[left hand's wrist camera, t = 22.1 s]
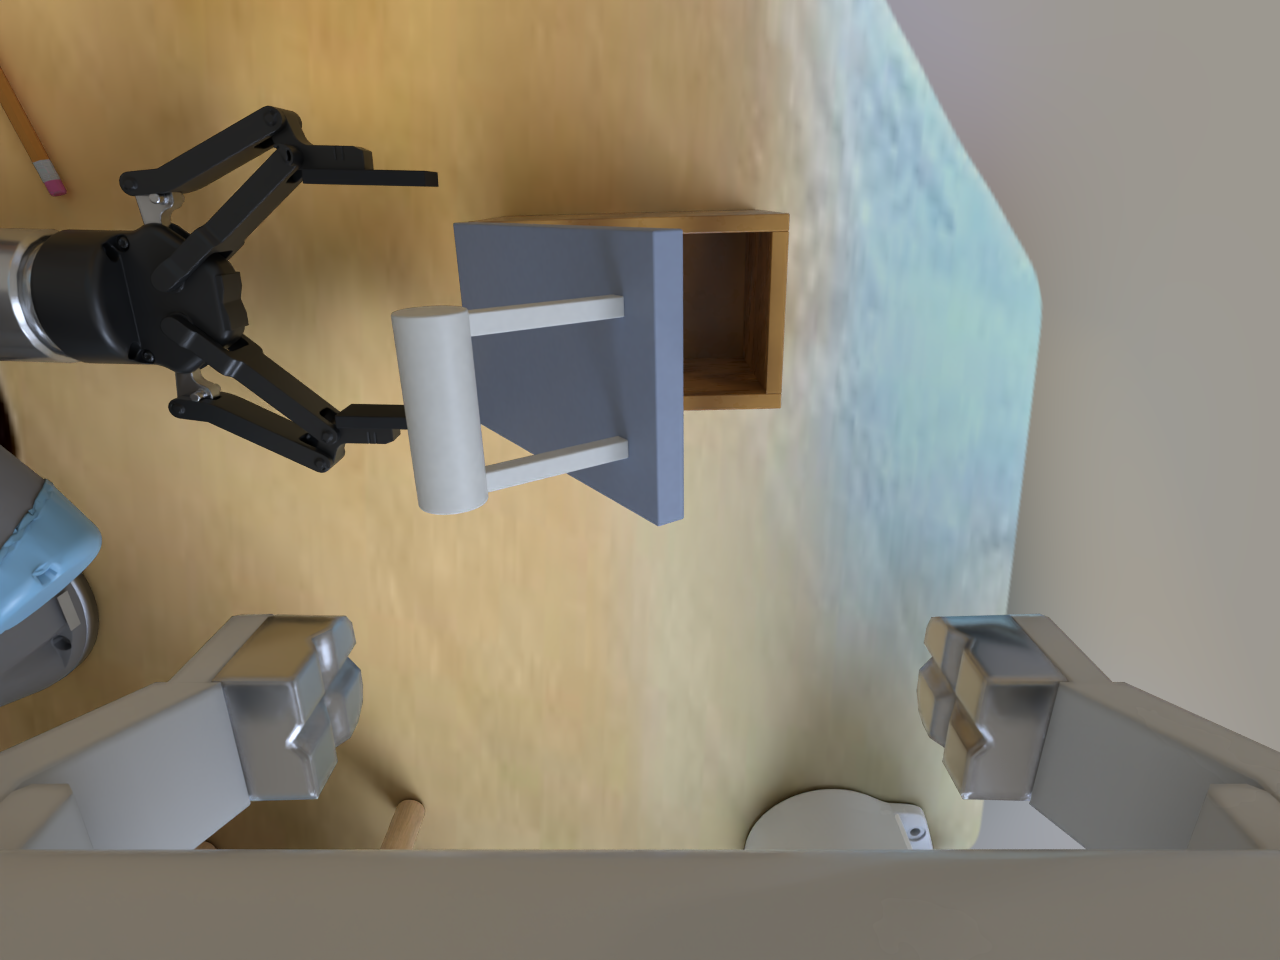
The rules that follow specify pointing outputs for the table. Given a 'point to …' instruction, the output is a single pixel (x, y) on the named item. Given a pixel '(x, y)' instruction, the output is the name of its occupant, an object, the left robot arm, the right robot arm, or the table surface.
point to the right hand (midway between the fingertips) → (442, 305)
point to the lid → (551, 366)
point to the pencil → (29, 138)
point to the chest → (720, 299)
